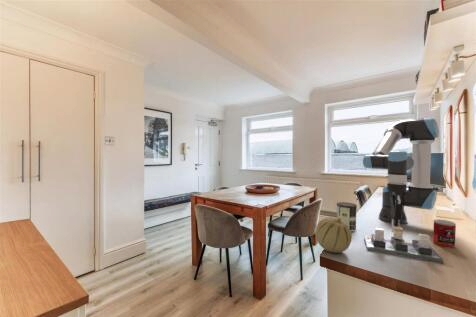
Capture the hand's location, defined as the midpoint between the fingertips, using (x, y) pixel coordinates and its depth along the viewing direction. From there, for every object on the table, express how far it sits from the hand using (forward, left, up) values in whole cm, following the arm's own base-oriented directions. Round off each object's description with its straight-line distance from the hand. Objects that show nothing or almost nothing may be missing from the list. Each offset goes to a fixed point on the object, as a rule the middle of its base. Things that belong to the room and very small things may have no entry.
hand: (395, 232), depth 105 cm
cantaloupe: (+23, -27, -6) cm, 36 cm away
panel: (+8, 0, -6) cm, 9 cm away
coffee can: (-13, -21, -6) cm, 26 cm away
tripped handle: (+5, 0, -1) cm, 5 cm away
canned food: (-9, +21, -6) cm, 24 cm away
